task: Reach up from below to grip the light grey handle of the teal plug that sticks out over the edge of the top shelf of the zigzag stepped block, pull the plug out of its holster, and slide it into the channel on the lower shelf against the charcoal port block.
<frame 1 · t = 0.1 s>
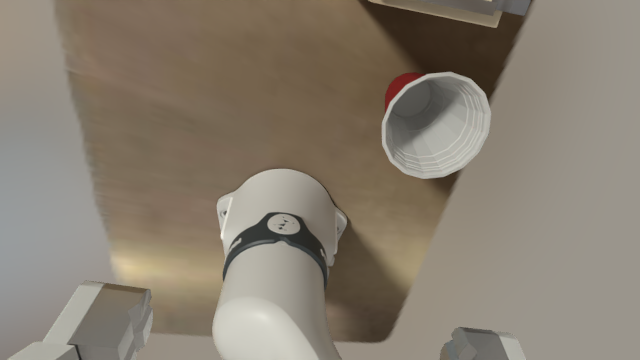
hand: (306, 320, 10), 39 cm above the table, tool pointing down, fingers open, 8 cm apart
plastic cup: (409, 93, 47), on the table
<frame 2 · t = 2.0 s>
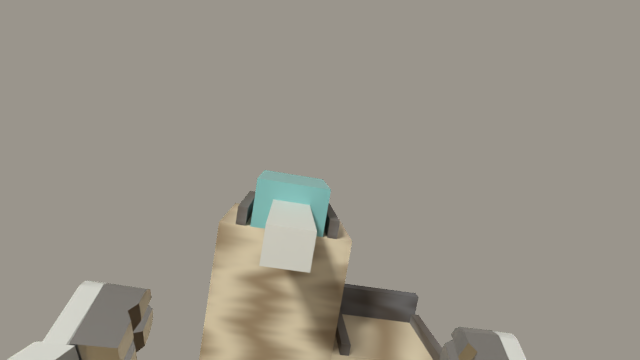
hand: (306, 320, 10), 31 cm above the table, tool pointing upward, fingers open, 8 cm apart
plug: (287, 221, 35), point 28 cm above the table, touching zigzag stepped block
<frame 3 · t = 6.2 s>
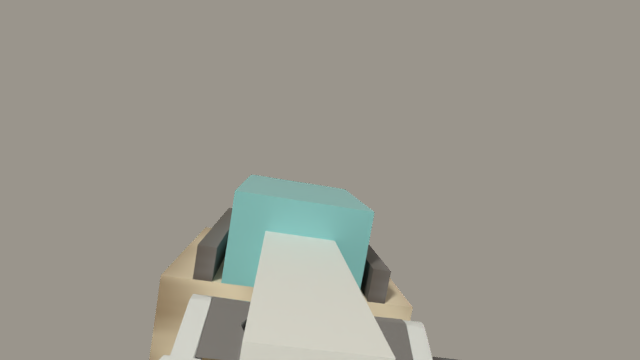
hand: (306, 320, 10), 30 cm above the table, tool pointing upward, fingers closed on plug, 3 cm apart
plug: (289, 262, 20), point 28 cm above the table, touching gripper, zigzag stepped block
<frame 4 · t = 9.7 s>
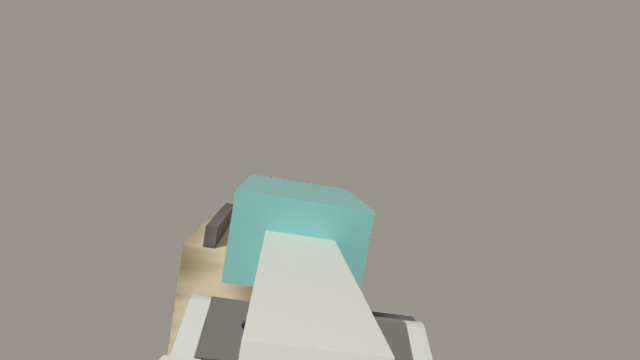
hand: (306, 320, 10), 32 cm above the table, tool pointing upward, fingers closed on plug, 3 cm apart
plug: (290, 262, 20), point 30 cm above the table, touching gripper
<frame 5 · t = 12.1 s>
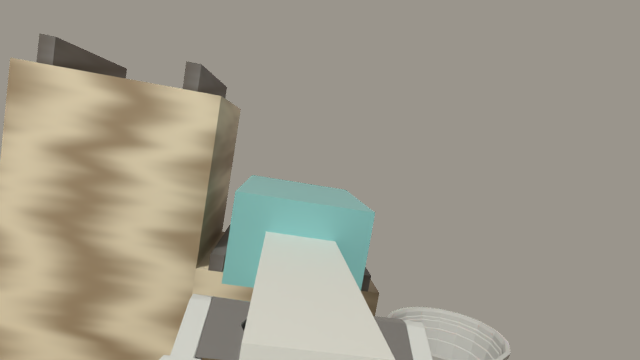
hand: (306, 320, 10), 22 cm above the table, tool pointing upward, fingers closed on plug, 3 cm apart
plug: (290, 263, 20), point 20 cm above the table, touching gripper
when the fingers open (22 cm above the table, at t = 13.6 s): plug drops 2 cm, resting on zigzag stepped block.
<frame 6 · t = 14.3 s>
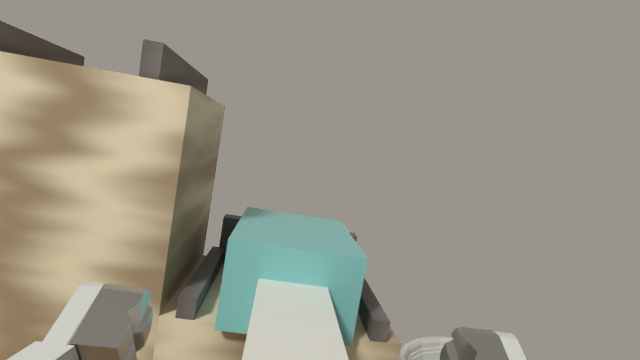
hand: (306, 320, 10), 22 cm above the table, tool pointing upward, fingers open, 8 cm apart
plug: (284, 300, 20), point 18 cm above the table, touching zigzag stepped block
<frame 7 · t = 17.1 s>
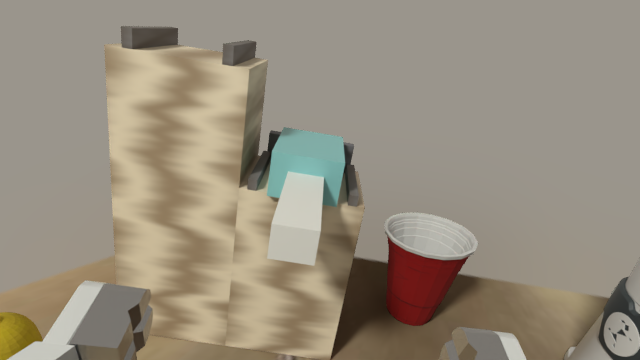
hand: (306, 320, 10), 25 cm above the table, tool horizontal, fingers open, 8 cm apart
plug: (305, 183, 36), point 18 cm above the table, touching zigzag stepped block
zigzag stepped block: (235, 315, 43), on the table
plastic cup: (405, 310, 49), on the table
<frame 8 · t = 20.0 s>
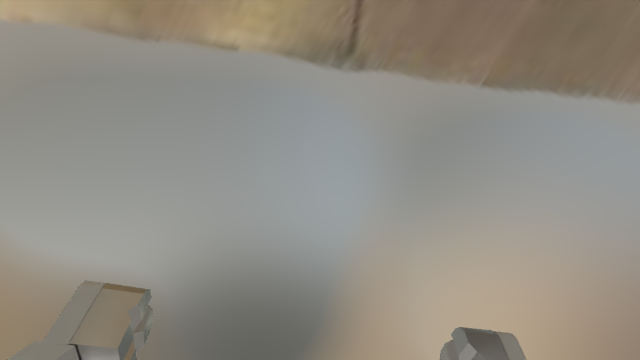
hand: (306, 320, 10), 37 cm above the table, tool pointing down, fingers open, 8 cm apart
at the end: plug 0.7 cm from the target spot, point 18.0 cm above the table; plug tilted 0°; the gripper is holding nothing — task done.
